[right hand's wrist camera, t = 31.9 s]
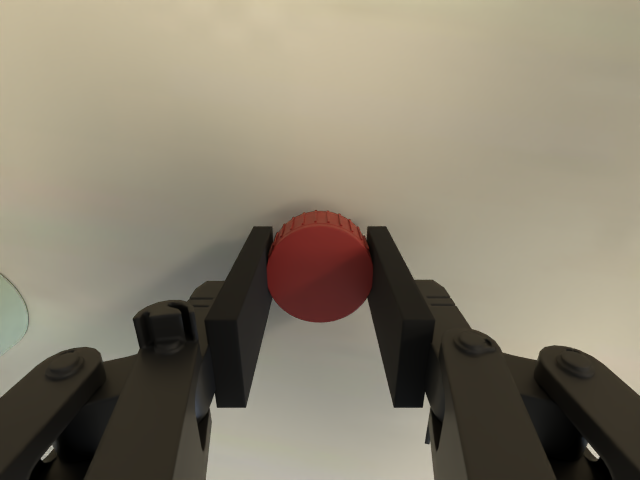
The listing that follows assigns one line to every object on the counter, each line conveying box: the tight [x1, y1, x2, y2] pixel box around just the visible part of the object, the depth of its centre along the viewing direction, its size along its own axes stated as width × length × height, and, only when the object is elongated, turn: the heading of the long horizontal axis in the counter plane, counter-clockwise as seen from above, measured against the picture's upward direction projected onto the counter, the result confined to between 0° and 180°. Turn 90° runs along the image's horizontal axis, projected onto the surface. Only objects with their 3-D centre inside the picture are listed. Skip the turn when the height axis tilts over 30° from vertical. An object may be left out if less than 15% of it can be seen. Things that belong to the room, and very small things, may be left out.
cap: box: [267, 210, 373, 322], centre depth 14 cm, size 4×4×2 cm
